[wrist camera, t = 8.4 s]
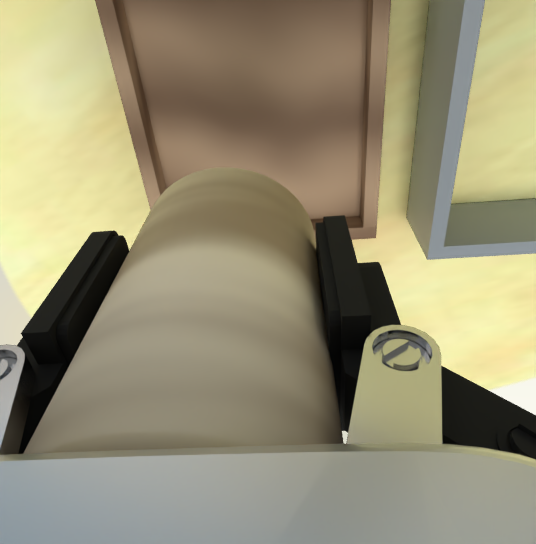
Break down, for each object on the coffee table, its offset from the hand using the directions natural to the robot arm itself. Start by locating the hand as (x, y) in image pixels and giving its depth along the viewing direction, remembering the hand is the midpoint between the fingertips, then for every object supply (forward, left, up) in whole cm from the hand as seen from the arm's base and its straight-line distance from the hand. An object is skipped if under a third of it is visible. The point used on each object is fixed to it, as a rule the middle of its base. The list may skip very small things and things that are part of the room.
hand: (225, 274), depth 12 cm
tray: (0, 0, -16) cm, 16 cm away
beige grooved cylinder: (0, 0, -1) cm, 1 cm away
